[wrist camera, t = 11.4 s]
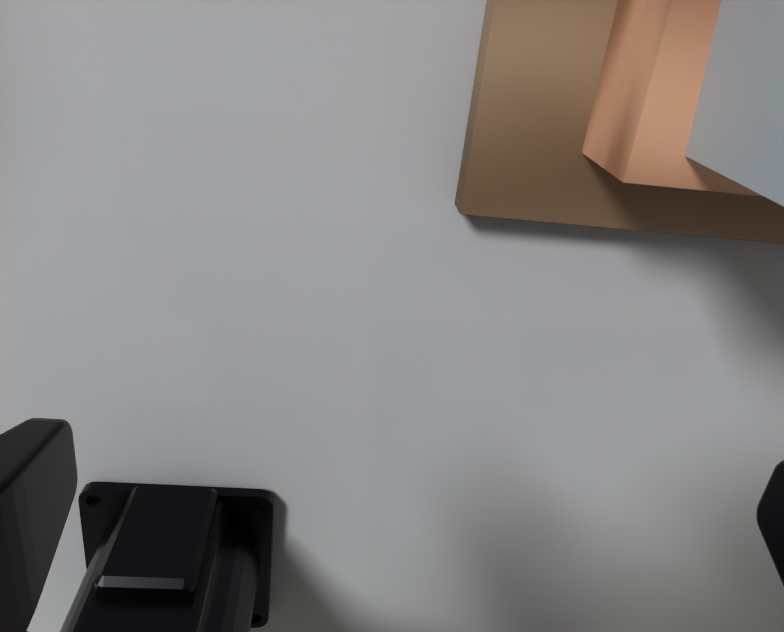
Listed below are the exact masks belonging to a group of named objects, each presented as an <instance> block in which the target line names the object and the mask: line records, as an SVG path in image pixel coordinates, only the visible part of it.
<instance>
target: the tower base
mask: <svg viewBox="0 0 784 632" xmlns="http://www.w3.org/2000/svg"><path fill="white" fill-rule="evenodd" d="M720 4H721V0H487V4H486V11H485V17H484V23H483V29H482V36H481V42H480V48H479V55H478V61H477V67H476V73H475V80H474V86H473V92H472V99H471V105H470V111H469V118H468V124H467V130H466V136H465V143H464V149H463V155H462V162H461V168H460V174H459V181H458V187H457V193H456V199H455V205H456V207H457V209H458V211H459V213H460V214H464V215H475V216H486V217H497V218H508V219H519V220H530V221H541V222H552V223H563V224H574V225H584V226H595V227H606V228H617V229H628V230H639V231H650V232H661V233H672V234H683V235H694V236H705V237H716V238H727V239H738V240H749V241H760V242H771V243H781V244H784V206H782V205H780V204H778V203H776V202H774V201H772V200H770V199H768V198H766V197H764V196H762V195H760V194H758V193H756V192H754V191H752V190H751V189H749V188H747V187H745V186H743V185H741V184H739V183H737V182H735V181H733V180H731V179H729V178H727V177H725V176H723V175H721V174H719V173H717V172H715V171H714V170H712V169H710V168H708V167H706V166H704V165H702V164H700V163H698V162H696V161H694V160H692V159H690V158H688V157H686V156H685V152H686V148H687V144H688V140H689V135H690V131H691V127H692V123H693V119H694V114H695V110H696V106H697V102H698V97H699V93H700V89H701V85H702V80H703V76H704V72H705V68H706V63H707V59H708V55H709V51H710V46H711V42H712V38H713V34H714V29H715V25H716V21H717V17H718V12H719V8H720Z"/></svg>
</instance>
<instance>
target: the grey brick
mask: <svg viewBox="0 0 784 632" xmlns="http://www.w3.org/2000/svg"><path fill="white" fill-rule="evenodd" d="M685 156H686V157H688V158H690V159H692V160H694V161H696V162H698V163H700V164H702V165H704V166H706V167H708V168H710V169H712V170H714V171H715V172H717V173H719V174H721V175H723V176H725V177H727V178H729V179H731V180H733V181H735V182H737V183H739V184H741V185H743V186H745V187H747V188H749V189H751V190H752V191H754V192H756V193H758V194H760V195H762V196H764V197H766V198H768V199H770V200H772V201H774V202H776V203H778V204H780V205H782V206H784V0H721V4H720V8H719V12H718V17H717V21H716V25H715V29H714V34H713V38H712V42H711V46H710V51H709V55H708V59H707V63H706V68H705V72H704V76H703V80H702V85H701V89H700V93H699V97H698V102H697V106H696V110H695V114H694V119H693V123H692V127H691V131H690V135H689V140H688V144H687V148H686V152H685Z"/></svg>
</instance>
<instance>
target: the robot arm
mask: <svg viewBox="0 0 784 632" xmlns="http://www.w3.org/2000/svg"><path fill="white" fill-rule="evenodd" d="M76 488H77V467H76V459H75V450H74V442H73V433H72V429H71V426H70V424H69V423H68V422H67V421H66V420H63V419H47V418H32V419H29V420H27V421H24V422H23V423H21V424H19V425H17V426H15V427H13V428H12V429H10V430H8V431H6V432H4V433H2V434H1V435H0V632H27V631H26V630H27V628H28V626H29V624H30V621H31V619H32V617H33V614H34V612H35V609H36V607H37V604H38V601H39V598H40V596H41V593H42V590H43V587H44V584H45V581H46V578H47V575H48V572H49V569H50V566H51V564H52V561H53V558H54V555H55V552H56V549H57V546H58V543H59V540H60V537H61V534H62V531H63V528H64V525H65V522H66V519H67V517H68V514H69V511H70V508H71V505H72V502H73V499H74V496H75V492H76ZM92 495H94V496H98V497H99V498H100V499H96V498H94V497H92ZM255 503H263V504H264V505H263V506H258V505H255ZM79 509H80V517H81V526H82V534H83V543H84V551H85V559H86V568H87V572H86V574H85V576H84V578H83V581H82V583H81V585H80V587H79V590H78V592H77V594H76V597H75V599H74V601H73V603H72V606H71V608H70V610H69V612H68V615H67V617H66V619H65V622H64V624H63V626H62V628H61V631H60V632H250V628H257V627H261V626H264V625H265V624H266V623H267V621H268V617H269V607H270V585H271V564H272V542H273V521H274V497H273V495H272V494H271V493H270V492H268V491H266V490H262V489H244V488H222V487H201V486H179V485H157V484H136V483H114V482H90V483H88V484H86V485H85V487H84V488H83V490H82V492H81V494H80V496H79ZM757 522H758V526H759V529H760V531H761V533H762V536H763V538H764V540H765V543H766V545H767V548H768V550H769V552H770V555H771V557H772V559H773V562H774V564H775V567H776V569H777V571H778V574H779V576H780V578H781V581H782V583H783V586H784V460H783V461H781V462H780V463H779V464H778V465H776V467H775V469H774V471H773V473H772V475H771V478H770V480H769V482H768V484H767V486H766V489H765V491H764V493H763V495H762V497H761V500H760V502H759V504H758V507H757ZM256 614H257V615H256Z"/></svg>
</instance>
